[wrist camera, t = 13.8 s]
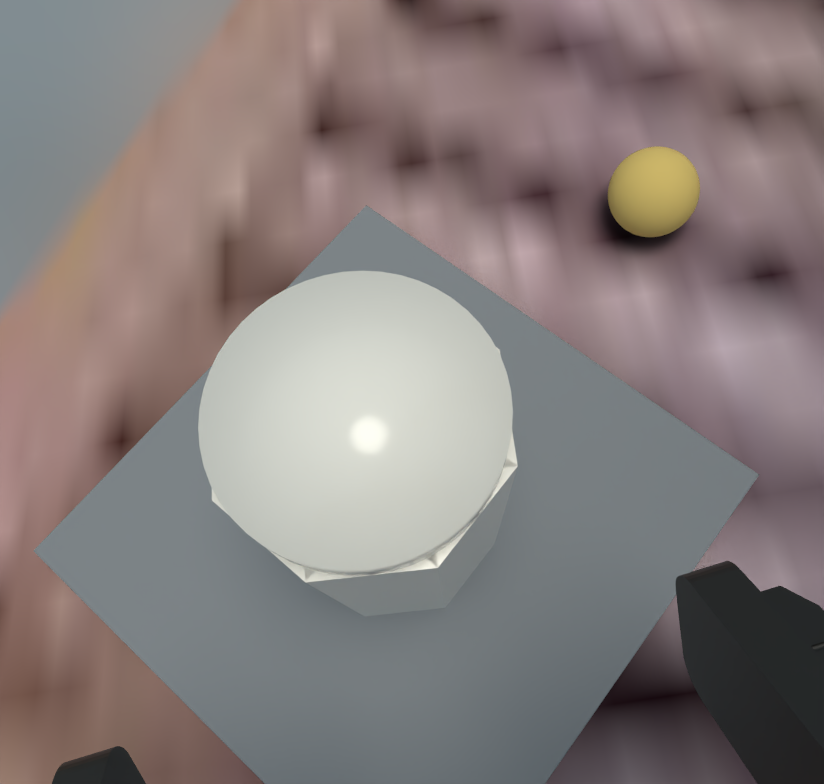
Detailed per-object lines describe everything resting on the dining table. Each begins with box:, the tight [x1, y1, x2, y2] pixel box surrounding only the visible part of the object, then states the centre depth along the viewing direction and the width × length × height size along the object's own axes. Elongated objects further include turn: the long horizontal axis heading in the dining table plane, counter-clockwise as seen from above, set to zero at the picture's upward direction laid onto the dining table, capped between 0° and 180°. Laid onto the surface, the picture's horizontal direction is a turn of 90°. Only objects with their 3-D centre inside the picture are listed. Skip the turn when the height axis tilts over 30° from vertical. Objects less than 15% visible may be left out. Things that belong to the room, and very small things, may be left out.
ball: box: [608, 147, 700, 237], centre depth 26 cm, size 3×3×3 cm
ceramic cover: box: [198, 271, 518, 616], centre depth 18 cm, size 6×6×10 cm
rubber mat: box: [34, 206, 759, 784], centre depth 23 cm, size 16×16×1 cm
